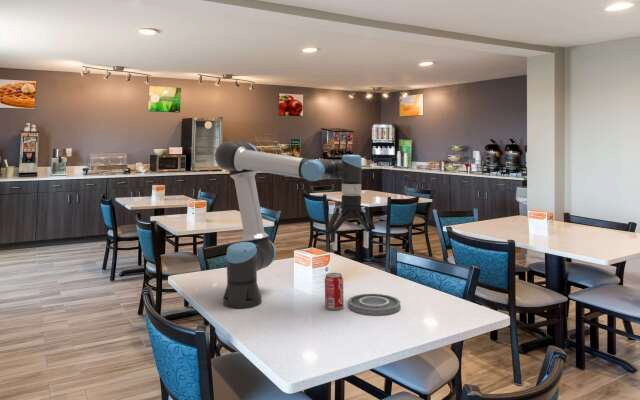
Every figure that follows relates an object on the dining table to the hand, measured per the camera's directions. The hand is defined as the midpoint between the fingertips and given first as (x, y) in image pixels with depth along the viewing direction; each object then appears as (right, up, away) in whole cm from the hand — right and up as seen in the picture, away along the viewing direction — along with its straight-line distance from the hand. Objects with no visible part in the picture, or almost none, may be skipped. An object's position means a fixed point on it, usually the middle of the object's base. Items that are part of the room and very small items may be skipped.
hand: (350, 248), depth 184 cm
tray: (+9, -22, -2) cm, 24 cm away
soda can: (-6, -23, -3) cm, 24 cm away
